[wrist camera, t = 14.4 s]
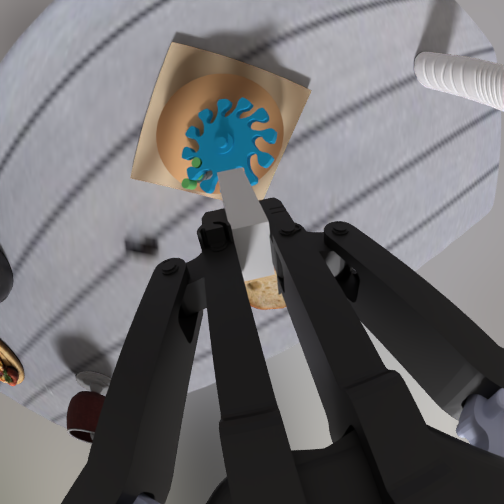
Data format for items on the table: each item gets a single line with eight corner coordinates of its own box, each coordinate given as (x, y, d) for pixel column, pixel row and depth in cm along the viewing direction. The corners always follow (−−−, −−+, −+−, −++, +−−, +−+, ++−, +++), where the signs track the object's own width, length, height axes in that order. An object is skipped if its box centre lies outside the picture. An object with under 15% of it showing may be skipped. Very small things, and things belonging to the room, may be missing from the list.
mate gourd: (113, 397, 67) (111, 458, 51) (70, 383, 60) (62, 445, 44) (128, 378, 61) (126, 449, 45) (78, 360, 54) (67, 433, 38)
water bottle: (443, 80, 31) (568, 127, 12) (421, 93, 33) (554, 147, 13) (425, 35, 27) (561, 60, 7) (401, 45, 28) (549, 72, 8)
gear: (236, 76, 23) (294, 148, 22) (259, 99, 29) (309, 164, 27) (158, 147, 27) (198, 223, 26) (189, 157, 33) (228, 223, 31)
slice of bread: (354, 252, 50) (364, 264, 47) (295, 315, 57) (301, 329, 54) (281, 208, 42) (289, 220, 39) (220, 289, 49) (222, 305, 46)
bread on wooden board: (132, 174, 34) (123, 190, 30) (172, 43, 25) (168, 37, 21) (256, 205, 40) (264, 224, 36) (307, 89, 31) (324, 93, 27)
